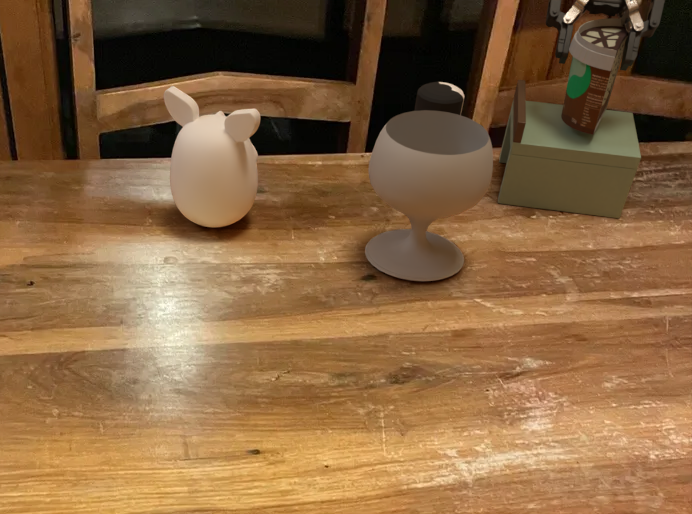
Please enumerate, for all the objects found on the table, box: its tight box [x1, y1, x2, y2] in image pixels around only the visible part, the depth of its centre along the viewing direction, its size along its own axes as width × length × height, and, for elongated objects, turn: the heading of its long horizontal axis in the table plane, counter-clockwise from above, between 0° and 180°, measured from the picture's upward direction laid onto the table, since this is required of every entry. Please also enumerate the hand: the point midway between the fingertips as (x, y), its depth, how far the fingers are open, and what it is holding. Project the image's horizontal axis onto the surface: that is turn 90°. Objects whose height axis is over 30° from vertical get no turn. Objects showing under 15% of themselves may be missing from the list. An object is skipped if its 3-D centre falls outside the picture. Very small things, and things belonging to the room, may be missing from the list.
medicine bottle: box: [413, 81, 465, 116], centre depth 124 cm, size 7×7×12 cm
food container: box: [561, 17, 628, 135], centre depth 118 cm, size 12×6×10 cm, turn 155°
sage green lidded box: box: [497, 79, 642, 219], centre depth 124 cm, size 16×14×10 cm
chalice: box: [364, 110, 494, 282], centre depth 109 cm, size 14×14×15 cm
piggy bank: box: [163, 85, 261, 228], centre depth 114 cm, size 12×12×15 cm
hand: (594, 63), depth 116 cm, fingers closed on food container, 7 cm apart
